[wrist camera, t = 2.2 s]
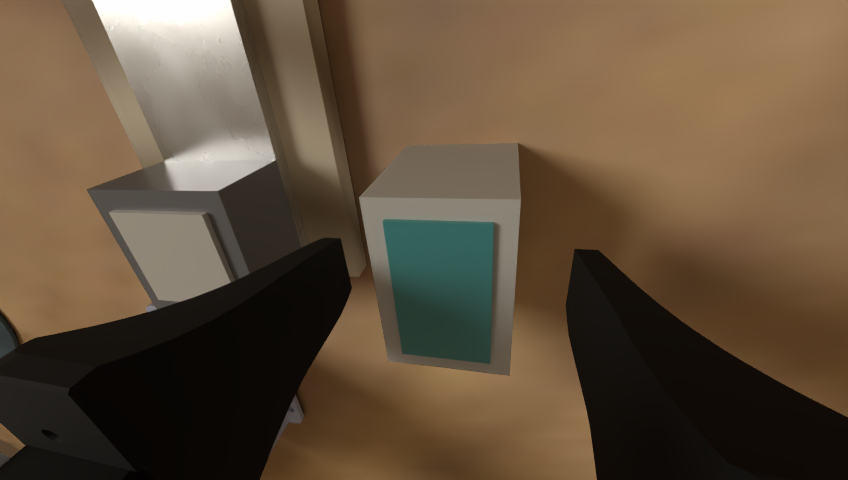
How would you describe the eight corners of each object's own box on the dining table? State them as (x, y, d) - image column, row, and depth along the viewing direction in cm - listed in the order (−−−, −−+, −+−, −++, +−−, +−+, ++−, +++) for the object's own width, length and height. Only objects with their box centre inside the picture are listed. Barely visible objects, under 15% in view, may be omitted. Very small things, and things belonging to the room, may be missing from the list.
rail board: (366, 264, 16) (358, 277, 16) (205, 254, 18) (190, 265, 17) (218, -529, 7) (178, -606, 6) (-78, -374, 9) (-140, -415, 8)
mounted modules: (308, 273, 15) (264, 324, 12) (211, 266, 16) (151, 312, 14) (72, -546, 6) (-254, -976, 4) (-106, -440, 7) (-454, -705, 5)
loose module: (510, 280, 15) (509, 379, 11) (420, 275, 16) (387, 364, 12) (517, 142, 12) (520, 202, 8) (407, 144, 13) (356, 199, 9)
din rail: (317, 274, 16) (311, 282, 15) (224, 268, 17) (215, 275, 17) (91, -554, 7) (56, -602, 6) (-83, -449, 8) (-124, -483, 7)
